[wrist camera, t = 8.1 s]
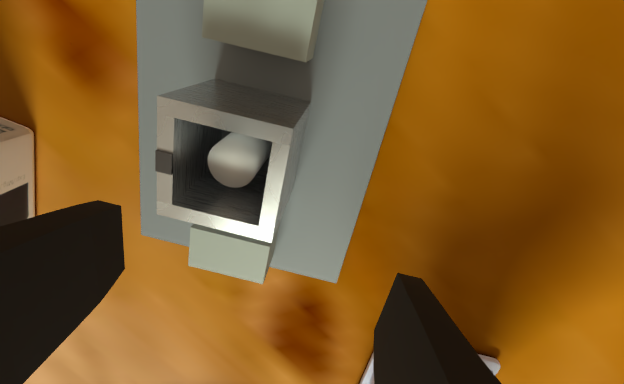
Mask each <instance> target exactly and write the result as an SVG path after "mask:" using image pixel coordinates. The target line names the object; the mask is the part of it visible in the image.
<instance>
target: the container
mask: <svg viewBox="0 0 624 384" xmlns="http://www.w3.org/2000/svg"><path fill="white" fill-rule="evenodd" d="M32 217H35V179H34V133H33V131H32V130H31V129H29V128H28V127H25V126H23V125H20V124H18V123H15V122H12V121H10V120H7V119H5V118H2V117H0V226H3V225H7V224H10V223H14V222H17V221H21V220H25V219H28V218H32Z"/></svg>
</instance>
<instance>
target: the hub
mask: <svg viewBox="0 0 624 384" xmlns="http://www.w3.org/2000/svg"><path fill="white" fill-rule="evenodd" d="M310 105H311V102H310V101H306V100H302V99H298V98H294V97H289V96H285V95H281V94H277V93H273V92H269V91H265V90H260V89H256V88H252V87H248V86H244V85H240V84H236V83H232V82H227V81H223V80H219V79H211V80H208V81H205V82H201V83H198V84H195V85H191V86H188V87H185V88H181V89H178V90H175V91H171V92H168V93H165V94H161V95H158V96H157V150H155V171H157V215H161V216H165V217H169V218H173V219H178V220H182V221H186V222H190V223H194V224H198V225H202V226H206V227H210V228H214V229H218V230H222V231H226V232H230V233H234V234H238V235H242V236H246V237H250V238H254V239H258V240H262V241H266V242H272V240H273V238H274V235H275V233H276V230H277V228H278V225H279V223H280V220H281V218H282V215H283V213H284V210H285V208H286V205H287V203H288V200H289V198H290V195H291V193H292V190H293V186H294V181H295V177H296V172H297V167H298V162H299V158H300V153H301V148H302V143H303V138H304V134H305V129H306V124H307V119H308V115H309V110H310ZM223 130H226V131H230V132H234V133H238V134H243V135H247V136H251V137H255V138H259V139H263V140H267V141H271V142H272V148H271V154H270V160H269V166H268V172H265V171H261V170H259V171H258V172H257V174H256V175H255V177H254V178H253V179H252V181H251V182H250V183H248V184H247V185H245V186H242V187H237V188H234V187H228V186H225V185H223V184H221V183H220V182H218V181H217V180H216V179H215V178H214V177H213V175H212V174H211V172H210V170H209V167H208V155H209V152H210V150H211V149H212V147H213V146H214V145H216V144H217V143H218V142H219V141H221V140H222V134H223Z"/></svg>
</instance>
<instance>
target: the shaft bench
mask: <svg viewBox="0 0 624 384" xmlns="http://www.w3.org/2000/svg"><path fill="white" fill-rule="evenodd" d="M426 3H427V0H136V14H137V62H138V109H139V156H140V203H141V235H144V236H148V237H152V238H156V239H160V240H164V241H168V242H172V243H176V244H180V245H184V246H188V247H189V263H188V266H192V267H196V268H200V269H204V270H208V271H212V272H216V273H220V274H224V275H228V276H232V277H236V278H240V279H244V280H248V281H252V282H256V283H260V284H263V282H264V280H265V277H266V274H267V271H268V269H269V267H273V268H277V269H281V270H285V271H289V272H293V273H297V274H301V275H305V276H309V277H313V278H317V279H321V280H325V281H329V282H333V283H337V279H338V276H339V273H340V270H341V267H342V264H343V261H344V258H345V255H346V251H347V248H348V245H349V242H350V239H351V236H352V233H353V230H354V227H355V223H356V220H357V217H358V214H359V211H360V208H361V205H362V202H363V199H364V195H365V192H366V189H367V186H368V183H369V180H370V177H371V174H372V171H373V167H374V164H375V161H376V158H377V155H378V152H379V149H380V146H381V143H382V139H383V136H384V133H385V130H386V127H387V124H388V121H389V118H390V115H391V111H392V108H393V105H394V102H395V99H396V96H397V93H398V90H399V87H400V83H401V80H402V77H403V74H404V71H405V68H406V65H407V62H408V59H409V55H410V52H411V49H412V46H413V43H414V40H415V37H416V34H417V31H418V27H419V24H420V21H421V18H422V15H423V12H424V9H425V6H426ZM211 79H219V80H223V81H227V82H232V83H236V84H240V85H244V86H248V87H252V88H256V89H260V90H265V91H269V92H273V93H277V94H281V95H285V96H289V97H294V98H298V99H302V100H306V101H310V102H311V105H310V110H309V115H308V119H307V124H306V129H305V134H304V138H303V143H302V148H301V153H300V158H299V162H298V167H297V172H296V177H295V181H294V186H293V190H292V193H291V195H290V198H289V200H288V203H287V205H286V208H285V210H284V213H283V215H282V218H281V220H280V223H279V225H278V228H277V230H276V233H275V235H274V238H273V240H272V242H266V241H262V240H258V239H254V238H250V237H246V236H242V235H238V234H234V233H230V232H226V231H222V230H218V229H214V228H210V227H206V226H202V225H198V224H194V223H190V222H186V221H182V220H178V219H173V218H169V217H165V216H161V215H157V171H155V150H157V96H158V95H161V94H165V93H168V92H171V91H175V90H178V89H181V88H185V87H188V86H191V85H195V84H198V83H201V82H205V81H208V80H211ZM271 148H272V142H271V141H267V140H263V139H259V138H255V137H251V136H247V135H243V134H238V133H234V132H230V131H226V130H223V134H222V140H221V141H219V142H218V143H217V144H216V145H214V146H213V147H212V149H211V150H210V152H209V155H208V167H209V170H210V172H211V174H212V175H213V177H214V178H215V179H216V180H217V181H218V182H220V183H221V184H223V185H225V186H228V187H234V188H237V187H242V186H245V185H247V184H248V183H250V182H251V181H252V179H253V178H254V177H255V175H256V174H257V172H258V171H259V170H261V171H265V172H268V166H269V160H270V154H271Z"/></svg>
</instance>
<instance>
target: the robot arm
mask: <svg viewBox="0 0 624 384" xmlns="http://www.w3.org/2000/svg"><path fill="white" fill-rule="evenodd" d="M124 269H125V266H124V249H123V232H122V214H121V206H119V205H115V204H111V203H107V202H103V201H99V200H98V201H93V202H88V203H83V204H79V205H75V206H71V207H67V208H64V209H60V210H56V211H53V212H49V213H46V214H42V215H39V216H35V217H32V218H28V219H25V220H21V221H17V222H14V223H10V224H7V225H3V226H0V384H23V383H24V382H25V381H26V380H27V379H28V378H29V377H30V376H31V375H32V374H33V373H34V372H35V370H36V369H37V368H38V367H39V366H40V365H41V364H42V363H43V362H44V361H45V360H46V359H47V358H48V357H49V356H50V355H51V354H52V353H53V352H54V351H55V350H56V349H57V347H58V346H59V345H60V344H61V343H62V342H63V341H64V340H65V339H66V338H67V337H68V336H69V335H70V334H71V333H72V332H73V331H74V330H75V329H76V328H77V327H78V325H79V324H80V323H81V322H82V321H83V320H84V319H85V318H86V317H87V316H88V315H89V314H90V313H91V312H92V311H93V309H94V308H95V307H96V306H97V305H98V304H99V303H100V302H101V300H102V299H103V298H104V296H105V295H106V294H107V293H108V291H109V290H110V289H111V287H112V286H113V285H114V283H115V282H116V280H117V279H118V277H119V276H120V275H121V273H122V272H123V270H124ZM500 367H501V366H500V364H499V361H498V360H497V359H495V358H492V357H488V356H484V355H480V354H477V353H476V351H475V350H474V349H473V347H472V346H471V345H470V343H469V342H468V341H467V339H466V338H465V337H464V335H463V334H462V333H461V331H460V330H459V329H458V327H457V326H456V325H455V323H454V322H453V321H452V319H451V318H450V316H449V315H448V314H447V312H446V311H445V310H444V308H443V307H442V305H441V304H440V303H439V301H438V300H437V299H436V297H435V296H434V294H433V293H432V292H431V290H430V289H429V288H428V286H427V285H426V284H425V282H424V281H423V280H422V279H421V278H417V277H413V276H408V275H404V274H400V273H397V276H396V278H395V281H394V283H393V286H392V288H391V290H390V293H389V295H388V298H387V300H386V303H385V305H384V308H383V310H382V313H381V315H380V317H379V320H378V322H377V325H376V327H375V330H374V352H373V354H372V356H371V358H370V361H369V363H368V365H367V368H366V370H365V372H364V374H363V377H362V379H361V381H360V383H359V384H501V383H500V381H499V380H498V379H497V378H496V377H495V375H496V374H497V372H498V371H499V369H500Z"/></svg>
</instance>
